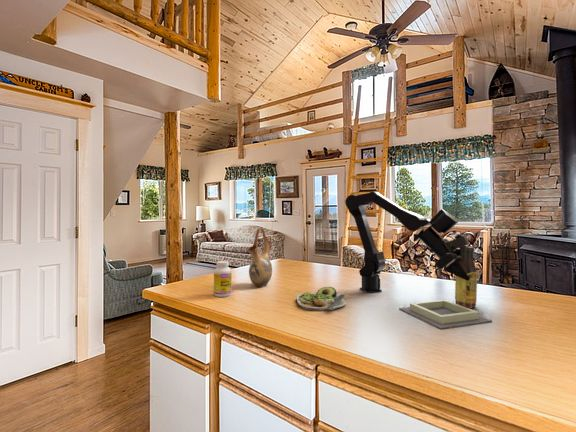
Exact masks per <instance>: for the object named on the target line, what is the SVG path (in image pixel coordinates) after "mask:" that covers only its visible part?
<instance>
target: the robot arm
mask: <svg viewBox="0 0 576 432" xmlns="http://www.w3.org/2000/svg"><path fill="white" fill-rule="evenodd" d="M344 202H345V206H346V208H347V210H348V212H349V213H350V214H351V215H352V217H353V219H354V223H355V225H356V228H357V231H358V234H359V238H360V240H361V245H362V247H363V250H364V255H363V263H364V266H363V267H362V268H360V269H359V271H358V273H359V275H360V277H361V287H359V290H361V291H364V292H366V293H379V292H382V289H381V278H380V274H381V272H382V271H383V270H384V269H385V266H386V262H387V260H386V258H385V256H384V251H382V250H381V251H379V250H378V248H377V245H376V244H375V240H374V237H373V234H372V231H371V227H370V225H369V224H370V223H369V222H368V218H367V215H366V214H367V213H366V212H367V205H370V204H372V203H373V204H375V205H377V206H378V207H380V208H381V209H382V210H384V211H385V212H387V213H389V214H390V215H392V216H393V217H395V218H396V219H397V220H398V221H399V223H401V225H402V226H404V227H405V228H406V229H407V230H408V231H411V232H414V231H415V232H416V231H419V232H418V233H413V242H418V241H421V242H422V243H423V244H424V245H425V246H426V247H427V248H428V249H429V252H430V253H431V254H432V253H433V254H434V255H435V256H436V257H437V258H438V260H436V261H435V267H436V268H437V269H438V270H439V271H441V270H443V271H444V272H447V273H449V274H452V275H454V276H455V277H456V276H458V277H460V278H462V279H465V280H467V281H468V280H469V279H470V278H469V276H468V275H467V273H466V272H465V271H464V270H463V268H462V267H461V266H460V264H459V261H460V247H461V246H467V245H468V246H469V245H470V244H471V243H470V242H469V238H468V237H467V236H466V235H463V234H461V233H459V234H457V235H455V237H454V238H455V239H454V238H453V239H451V240H449V239H447V238H443V237H442V236H441V235H440V234H447V233H448V232H449V231H450V230H451V229H452V228H454V227H455V225H457V224H458V223H459V221H458V219H456V217H454V215H452V214H450V213H449V212H448V211H446V210H445V209H442V208H441V209H440V210H438V211H437V213H436V214H435V215H434V216H433V217H432V218H425V217H424V216H422V215H421V214H418V213H416V212H413V211H410V210H407V209H405V208H404V207H401V206H400V205H399V204H397V203H395V202H393V201H392V200H390V198H387V197H385V196H384V195H383V194H381V192H380V191H379V192H378V191H370V192H366V193H362V194H349V195H348V196H347V197H346V199H345V200H344ZM427 226H428V227H427ZM425 227H427V228H425Z"/></svg>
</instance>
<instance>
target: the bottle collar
mask: <svg viewBox="0 0 576 432" xmlns="http://www.w3.org/2000/svg"><path fill="white" fill-rule="evenodd" d="M409 307H410V310H412V311H414V312H416V313H418V314H420V315H423V316H425V317H427V318H429V319H431V320H433V321H436V322H438V323H440V324H445V323H452V322H460V321H467V320H474V319H479V316H480V312H479V311H477V310H474V309H473V308H466V307H463V306H461V305H458V304H456V303H455V302H452V301H450V300H447V299H437V300H436V299H435V300H429V301H420V302H419V301H417V302H411V303H409ZM440 307H445V308H448V309H450V310H453V311H455V312H458V313H454V314H446V315H440V314H438V313H435V312H433V311H431V310H428V309H431V308H440Z"/></svg>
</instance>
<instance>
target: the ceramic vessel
mask: <svg viewBox="0 0 576 432" xmlns="http://www.w3.org/2000/svg"><path fill="white" fill-rule="evenodd" d="M260 232H261V233H262V240H263V246H264V247H263V249H262V252H261V254H260V253H259V249H258V248H259V247H258V242H259V233H260ZM272 247H273V245H272V244H271V242H270V241H269V239H268V237H267V235H266V232H265V230H264V228H263V227H259V228H258V229H257V230H256V232H255V237H254V241H253V244H252V246H249V248H247V250H248V252H249V253H250V255H251V262H250V263H249V267H248V268H249V269H248V274H249V275H248V276H249V279H250V282H251V283H252V284H253V285H254V286H255V287H257V288H262V287H265V286H267V285H268V283H269V282H270V280H271V279H272V275H273V265H272V262H271V260H270V252H271V249H272Z"/></svg>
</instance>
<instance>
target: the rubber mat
mask: <svg viewBox="0 0 576 432" xmlns="http://www.w3.org/2000/svg"><path fill="white" fill-rule="evenodd" d="M399 310H400V311H402V312H404V313H406V314H408V315H410V316H413V317H414V318H417V319H418V320H420V321H423V322H424V323H427V324H428V325H431V326H433V327H435V328H437V329H439V330H446V329H451V328H452V329H453V328H454V329H455V328H460V327H465V326H466V327H467V326H473V325H481V324H486V323H492V322H493V320H492V319H489V318H486V317H483V316H481V315H479V319H474V320H467V321H460V322H452V323H445V324H440V323H438V322H436V321H433V320H431V319H429V318H427V317H425V316H423V315H420V314H418V313H416V312H414V311H412V310H410V306H406V307H399ZM428 310H431V311H433V312H435V313H438V314H440V315H446V314H454V313H458V312H455V311H453V310H450V309H448V308H445V307H440V308H431V309H428Z"/></svg>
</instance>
